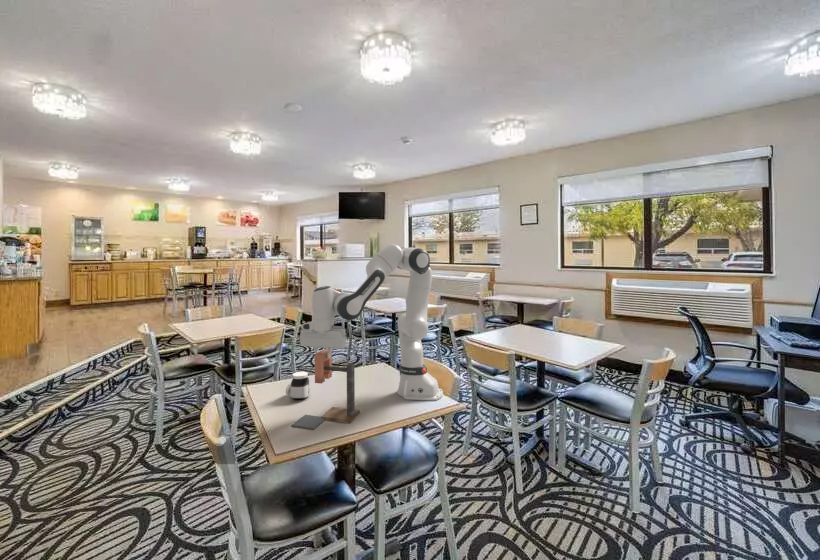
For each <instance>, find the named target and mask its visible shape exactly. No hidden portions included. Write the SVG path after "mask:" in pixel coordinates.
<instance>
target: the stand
mask: <svg viewBox="0 0 820 560" xmlns="http://www.w3.org/2000/svg"><path fill="white" fill-rule="evenodd" d="M324 370H331V371H332V372H343V373H346V407H345V408H344V407H335V406H332V407H331V408H329V409H328V410H327V411H325V413H324V414H322V415H321V416H320V417H321V418H325V421H331V422H337V423H344V424H351V423H352V422H353V421H354V420H355V419H356V418H357V417H358V416H359V415H360V414H361V410H360V409H355V408H356V407H355V405H356V404H355V400H356V399H355V391H356V390H355V388H356V387H355V383H356V382H355V364H354V363H348V364H346V367H340V366H339V367H337V366H332V367H330V366H324Z"/></svg>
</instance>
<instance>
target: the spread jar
mask: <svg viewBox="0 0 820 560" xmlns="http://www.w3.org/2000/svg"><path fill="white" fill-rule="evenodd" d="M308 376H309V375H308V372H306V371H297V372H294V373H292V380H291V381H290V383H288V384H287V386H286V389H285V394H286V395H288V396H290V399H292V400H293V401H298V402H301V401H304V400H307V399H309V396H310V378H309V377H308Z"/></svg>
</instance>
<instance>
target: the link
mask: <svg viewBox="0 0 820 560" xmlns="http://www.w3.org/2000/svg"><path fill="white" fill-rule="evenodd" d="M328 351H329V350H328V348H324V349H321V350H320V351H319V352H318V353H315V354H314V383H315V384H323V383H324V382H326V379H327V380H329V379H330V378H332V377H333V374H332V373H333V371H331V370H324V366H330V367H333V363H332V362H333V361H332V360H333V359H332V358H333V357H332V353H333V351H332V352H331V357H330V358H326V356H325V354H327V353H328Z"/></svg>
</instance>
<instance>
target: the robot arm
mask: <svg viewBox="0 0 820 560" xmlns="http://www.w3.org/2000/svg"><path fill="white" fill-rule="evenodd" d="M430 264H431V258H430V255H429V253H428V251H426V250H425V249H422V248H421V247H420V248H419V247H413V246H412V247H400V246H399V245H397V244H396V243H390V244H387V245H386V246H384V247H383V248H382V249H380V250H379V251H378V252H376V254H374V256H372V257H371V259H370V260H369V261H368V262H367V264H366V266H365V273H366V275H367V277H366V279H365V280H364V282H362V284H360V286H359V287H358V288H357V290H356V291H354V292H352V293H351V294H348V293H343V292H340V291H338V290H336V289H335V288H333V287H332V286H329V285H326V286H325V285H324V286H320V287H317V288H315V289H314V290H313V293H312V294H311V295H312V296H311V310H312V317H311V321H308V322H304V323H302V324H301V325H300V327H301V331H300V334H299V343H300V346H302V347H310V348H311V347H312V348H313V352H314V353H315V354H316V353H318V352H320V351H319V348H322V349H323V348H324V349H328V350H329V351H328V353H327V354H325V356H326V358H330V357H331V352H332V353H333V350H334V349H336V350H338V349H340V350H341V349H342V350H343V349H344V348H346V347H347V337H346V334H347V333H346V332H347V331H346V328H345V327H343V326H341V325H334V324H335V323H334V322H335V321H334V319H335V318H334V317H335V316H336V315H337V316H340V317H341V318H343V319H344V320H347V321H353V320H356V319H357V318H359V317H360V316H361V314H362V313H363V311H364V309H365V307H366V304H367V303H368V301H369V300H370V299H371V298H372V297H373V295H374V294H376V292H377V290H378V289H379V288H380V287H381V285H382V284H383V283H384V281H385V280H386V279H387V278H388V277H389V276H390V275H391V274H392V273H393V272H394V271H395V270H396V269H397V268H398V269H399V270H403V271H408V272H409V275H410V276H409V277H410V278H409V281H408V286H407V291H406V298H405V313H402V314H400V315H399V316H398V318H397V329H398V339H399V345H400V363H399V382H398V388H397V392H396V394H397V395H399V396H400V397H402V398H403V399H404V400H409V401H413V400H414V401H439V400H440V399H441V398H442V397H443V394H444V391H443V389H442V388H439V383H438V380H437V379H436V378H435V377H434V376H432V375H431V374H430V373H428V365H425V364H424V347H423V345H422V340H423V339H424V338H426V336H427V335H428V333H429V326H428V311H429V310H428V305H429V300H430V293H431V289H432V282H433V270H432V268H431V267H430V266H431V265H430Z"/></svg>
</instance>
